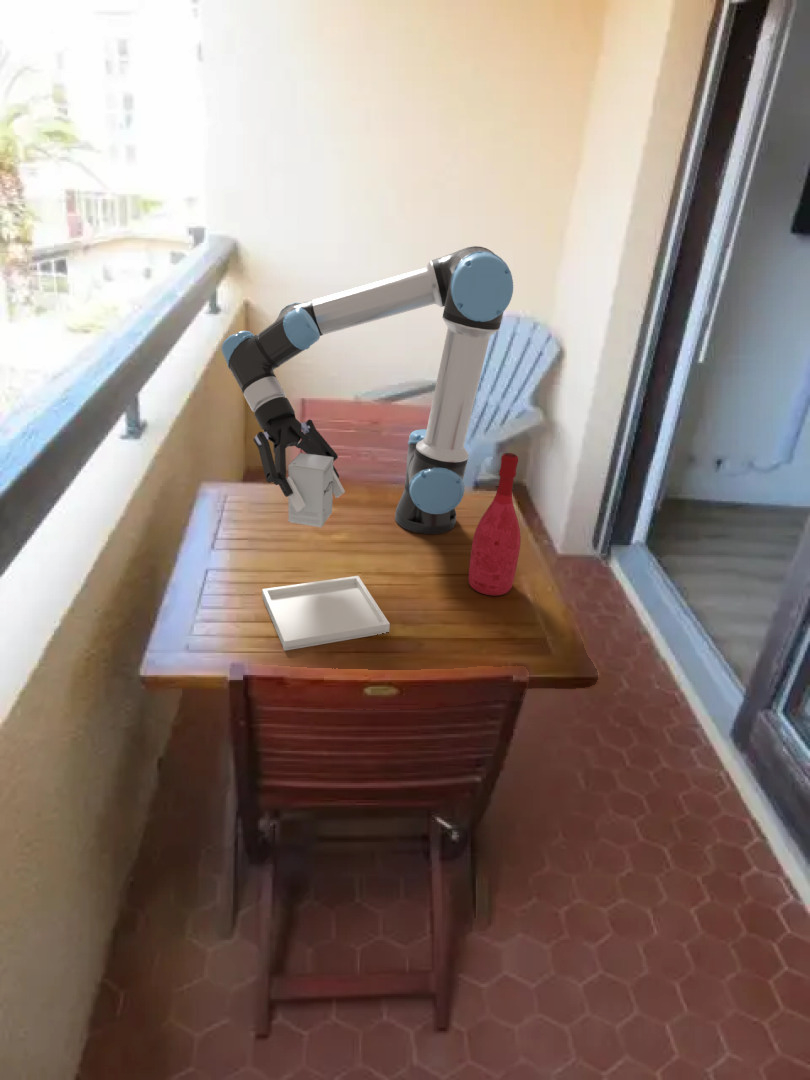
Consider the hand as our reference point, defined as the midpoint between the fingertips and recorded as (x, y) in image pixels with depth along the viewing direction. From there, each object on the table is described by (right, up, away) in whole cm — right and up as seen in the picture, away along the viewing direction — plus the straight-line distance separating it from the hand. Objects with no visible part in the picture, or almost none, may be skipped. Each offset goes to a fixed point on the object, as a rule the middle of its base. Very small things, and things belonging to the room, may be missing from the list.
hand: (321, 501), depth 143 cm
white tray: (+1, -22, -5) cm, 23 cm away
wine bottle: (+35, -18, +10) cm, 40 cm away
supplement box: (-3, -3, +4) cm, 6 cm away
